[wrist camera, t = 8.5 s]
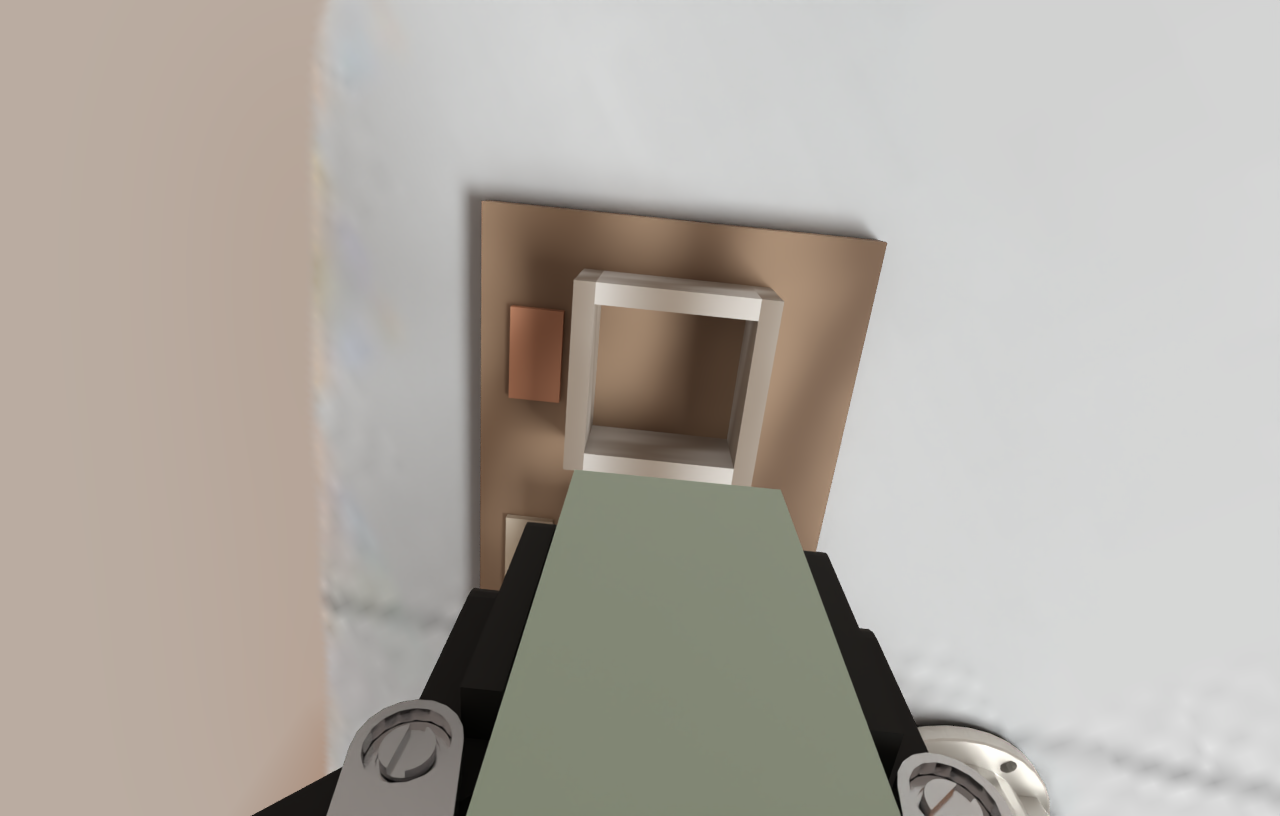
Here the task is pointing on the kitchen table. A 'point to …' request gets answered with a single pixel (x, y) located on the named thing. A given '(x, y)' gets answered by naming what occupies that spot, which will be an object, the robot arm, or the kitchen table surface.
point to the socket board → (661, 359)
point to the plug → (678, 667)
